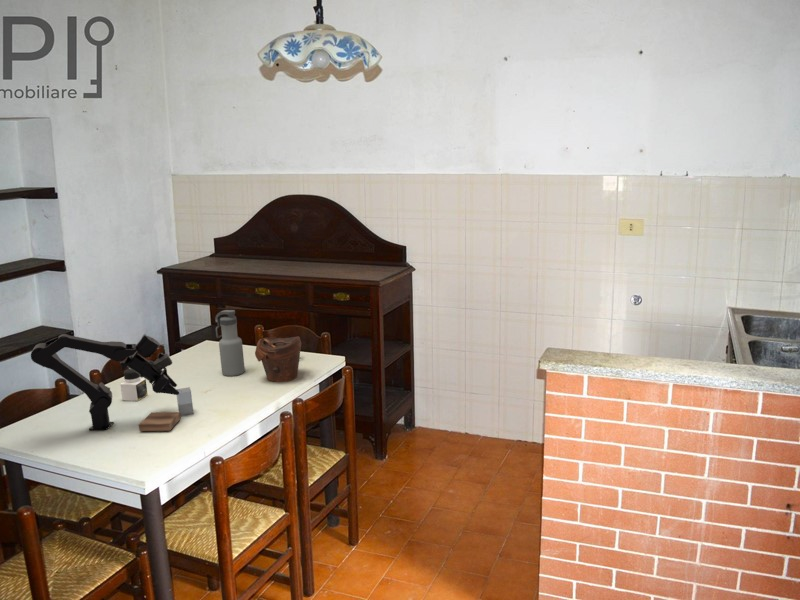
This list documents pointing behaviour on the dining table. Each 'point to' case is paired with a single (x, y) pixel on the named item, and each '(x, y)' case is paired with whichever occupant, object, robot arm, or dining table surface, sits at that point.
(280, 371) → the case
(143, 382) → the medicine bottle
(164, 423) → the walnut stand
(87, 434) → the dining table surface
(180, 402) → the block
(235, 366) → the water bottle
